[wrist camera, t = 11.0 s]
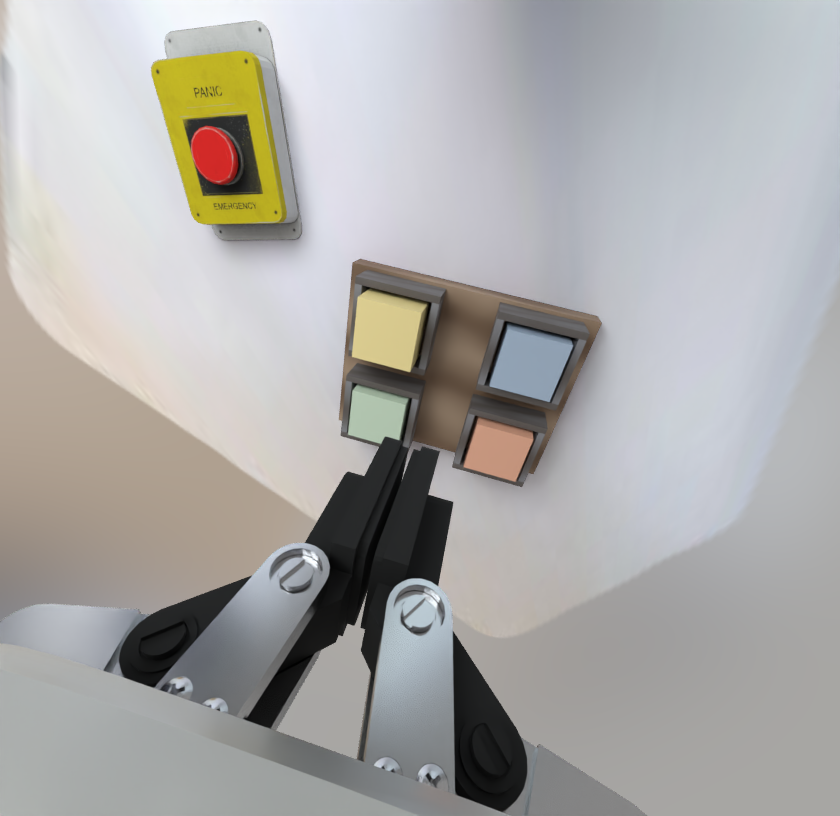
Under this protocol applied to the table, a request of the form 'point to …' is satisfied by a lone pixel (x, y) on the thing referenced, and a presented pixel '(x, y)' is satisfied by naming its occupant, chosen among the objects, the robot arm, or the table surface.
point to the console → (462, 362)
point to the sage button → (378, 414)
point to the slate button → (530, 361)
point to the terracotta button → (497, 448)
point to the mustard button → (389, 328)
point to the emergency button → (229, 130)
